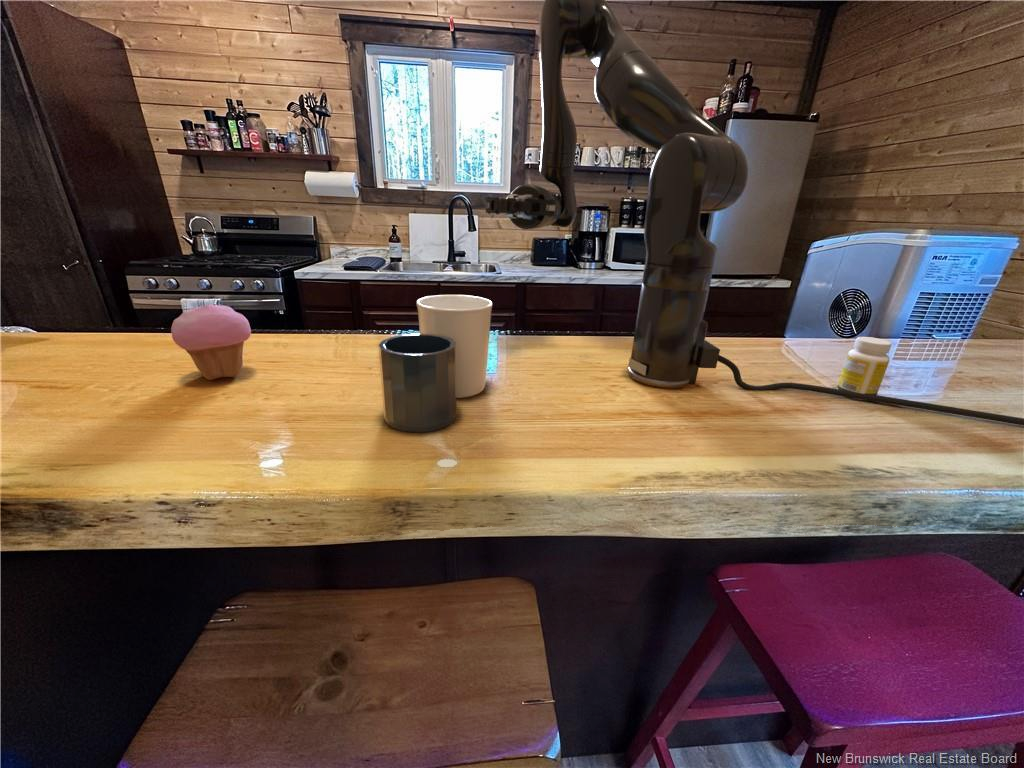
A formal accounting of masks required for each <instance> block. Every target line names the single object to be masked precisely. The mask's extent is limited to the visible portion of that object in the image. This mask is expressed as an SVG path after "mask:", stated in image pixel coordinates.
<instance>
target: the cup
mask: <svg viewBox="0 0 1024 768" xmlns="http://www.w3.org/2000/svg"><path fill="white" fill-rule="evenodd" d="M378 357H379V369H380V370H379V371H380V384H381V398H382V409H383V415H384V416H383V417H384V421H385V423H386V424H387V425H388V426H389V427H391V428H392V429H395V430H398V431H401V432H408V433H424V432H426V433H427V432H433V431H436V430H440V429H442V428H443V429H444V428H446V427H447V426H449V425H450V424H452V423H453V422H454V421H455V419H456V417H457V410H458V409H457V407H458V406H457V403H458V401H457V398H456V342H454V341H453V340H452V339H450V338H447V337H444V336H440V335H433V334H420V333H408V334H407V333H406V334H400V335H394V336H390V337H388V338H386V339H385V338H384V339H382V340H381V341H380V342H379V343H378Z"/></svg>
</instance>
